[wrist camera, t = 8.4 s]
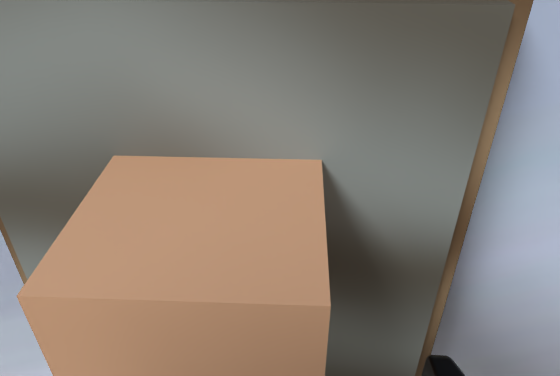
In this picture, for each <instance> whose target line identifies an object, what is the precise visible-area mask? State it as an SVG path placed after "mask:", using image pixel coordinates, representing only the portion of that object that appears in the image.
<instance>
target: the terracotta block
mask: <svg viewBox="0 0 560 376" xmlns="http://www.w3.org/2000/svg"><path fill="white" fill-rule="evenodd" d="M17 298H18V300H19V303H20V305H21V307H22V309H23V311H24V313H25V316H26V318H27V320H28V322H29V324H30V326H31V329H32V331H33V333H34V335H35V337H36V340H37V342H38V344H39V346H40V348H41V350H42V353H43V355H44V357H45V359H46V361H47V363H48V366H49V368H50V370H51V372H52V374H53V376H325V367H326V356H327V344H328V333H329V321H330V310H331V301H330V285H329V269H328V253H327V237H326V221H325V205H324V189H323V173H322V160H305V159H256V158H208V157H159V156H113V157H112V159H111V160H110V162H109V163H108V164H107V166H106V167H105V169H104V170H103V172H102V173H101V175H100V176H99V177H98V179H97V180H96V182H95V183H94V185H93V186H92V188H91V189H90V190H89V192H88V193H87V195H86V196H85V198H84V199H83V201H82V202H81V203H80V205H79V206H78V208H77V209H76V211H75V212H74V214H73V215H72V216H71V218H70V219H69V221H68V222H67V224H66V225H65V227H64V228H63V230H62V231H61V232H60V234H59V235H58V237H57V238H56V240H55V241H54V243H53V244H52V245H51V247H50V248H49V250H48V251H47V253H46V254H45V256H44V257H43V258H42V260H41V261H40V263H39V264H38V266H37V267H36V269H35V270H34V271H33V273H32V274H31V276H30V277H29V279H28V280H27V282H26V283H25V284H24V286H23V287H22V289H21V290H20V292H19V293H18V295H17Z"/></svg>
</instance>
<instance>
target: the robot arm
mask: <svg viewBox="0 0 560 376" xmlns="http://www.w3.org/2000/svg"><path fill="white" fill-rule="evenodd" d="M421 376H465V375H464V374H463V372H462V371H461V370H460V369H459V367H458V366H457V365H456V364H455V362H454V361H453V360H452V359H451V358H450V357H448V356H440V355H429V356H428V357H427V358H426V361H425V364H424V368H423V371H422V375H421Z"/></svg>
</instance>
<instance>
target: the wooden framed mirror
mask: <svg viewBox="0 0 560 376" xmlns="http://www.w3.org/2000/svg"><path fill="white" fill-rule="evenodd" d="M532 4H533V0H0V230H1V233H2V235H3V237H4V239H5V242H6V244H7V246H8V249H9V251H10V253H11V255H12V258H13V260H14V262H15V265H16V267H17V269H18V272H19V274H20V276H21V278H22V281H23V283H24V284H25V283H26V282H27V280H28V279H29V277H30V276H31V274H32V273H33V271H34V270H35V269H36V267H37V266H38V264H39V263H40V261H41V260H42V258H43V257H44V256H45V254H46V253H47V251H48V250H49V248H50V247H51V245H52V244H53V243H54V241H55V240H56V238H57V237H58V235H59V234H60V232H61V231H62V230H63V228H64V227H65V225H66V224H67V222H68V221H69V219H70V218H71V216H72V215H73V214H74V212H75V211H76V209H77V208H78V206H79V205H80V203H81V202H82V201H83V199H84V198H85V196H86V195H87V193H88V192H89V190H90V189H91V188H92V186H93V185H94V183H95V182H96V180H97V179H98V177H99V176H100V175H101V173H102V172H103V170H104V169H105V167H106V166H107V164H108V163H109V162H110V160H111V159H112V157H113V156H159V157H208V158H256V159H305V160H322V173H323V189H324V205H325V221H326V237H327V253H328V269H329V285H330V301H331V310H330V321H329V333H328V344H327V356H326V367H325V376H421V375H422V371H423V368H424V364H425V361H426V358H427V357H428V356H429V355H431V351H432V348H433V345H434V341H435V338H436V334H437V331H438V327H439V324H440V320H441V317H442V314H443V310H444V307H445V303H446V300H447V296H448V293H449V290H450V286H451V283H452V279H453V276H454V272H455V269H456V265H457V262H458V259H459V255H460V252H461V248H462V245H463V241H464V238H465V234H466V231H467V228H468V224H469V221H470V217H471V214H472V210H473V207H474V203H475V200H476V197H477V193H478V190H479V186H480V183H481V179H482V176H483V172H484V169H485V166H486V162H487V159H488V155H489V152H490V148H491V145H492V141H493V138H494V135H495V131H496V128H497V124H498V121H499V117H500V114H501V110H502V107H503V104H504V100H505V97H506V93H507V90H508V86H509V83H510V80H511V76H512V73H513V69H514V66H515V62H516V59H517V55H518V52H519V49H520V45H521V42H522V38H523V35H524V31H525V28H526V24H527V21H528V18H529V14H530V11H531V7H532Z"/></svg>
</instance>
